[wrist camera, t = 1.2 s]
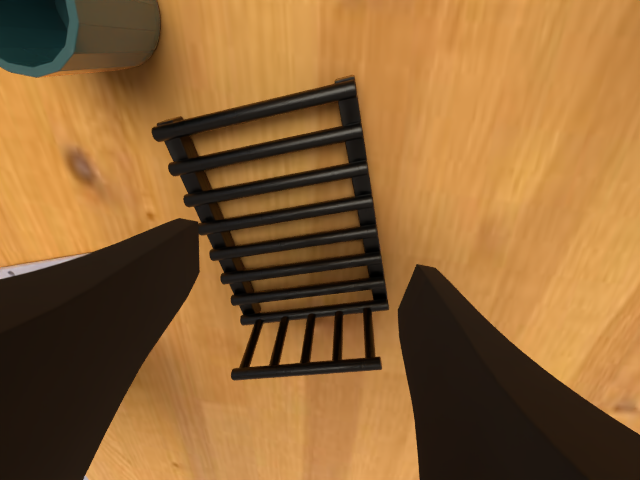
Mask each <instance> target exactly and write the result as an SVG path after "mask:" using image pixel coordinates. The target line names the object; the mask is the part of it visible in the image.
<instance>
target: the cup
mask: <svg viewBox="0 0 640 480" xmlns="http://www.w3.org/2000/svg"><path fill="white" fill-rule="evenodd" d="M159 36H160V13H159V8H158V4H157V0H0V67H2V68H3V69H5V70H7V71H8V72H11V73H16V74H21V75H26V76H31V77H36V78H37V77H38V78H39V77H50V76H61V75H72V74H84V73H95V72H106V71H117V70H123V69H129V68H134V67H137V66H139V65H141V64H143V63H144V62H146V61H147V60H148V59H149V58H150V56H151V55H152V54H153V52H154V50H155V49H156V46H157V44H158V40H159Z"/></svg>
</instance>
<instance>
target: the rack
mask: <svg viewBox="0 0 640 480" xmlns="http://www.w3.org/2000/svg"><path fill="white" fill-rule="evenodd" d="M333 102H338V104H339V110H340V115H341V121H342V126H339V127H335V128H330V129H325V130H321V131H316V132H311V133H307V134H302V135H297V136H293V137H288V138H283V139H279V140H274V141H269V142H265V143H260V144H255V145H250V146H246V147H241V148H236V149H232V150H227V151H222V152H218V153H213V154H208V155H204V156H199V157H198V155H197V152H196V150H195V148H194V145H193V143H192V140H191V138H190V136H189V135H193V134H197V133H202V132H206V131H210V130H215V129H219V128H223V127H228V126H232V125H237V124H241V123H245V122H250V121H254V120H259V119H263V118H267V117H272V116H276V115H281V114H285V113H289V112H294V111H298V110H302V109H307V108H311V107H316V106H320V105H324V104H329V103H333ZM152 135H153V137H154V139H155V140H156V141H158V142H162V141H164V142H165V144H166V146H167V148H168V150H169V153H170V155H171V157H172V159H173V161H174V162H171V163H169V165H168V169H169V172H170V174H171V175H172V176H180V177H181V179H182V181H183V183H184V186H185V188H186V190H187V192H188V194H186V195H184V198H183V200H184V203H185V205H186V206H187V207H195V210H196V212H197V214H198V216H199V218H200V221H201V223H199V224H198V233H199V235H207V236H208V238H209V240H210V243H211V245H212V247H213V249H212V250H210V258H211V260H212V261H217V260H219V262H220V265H221V267H222V269H223V271H224V273H222V274H221V282H222V284H230V287H231V289H232V291H233V293H234V295H232V296H231V303H232V305H233V306H236V305H239V306H240V308H241V311H242V313H243V315H242V316H241V318H240V322H241V324H242V325H252V324H254V327H253V330H252V332H251V335H250V338H249V341H248V344H247V347H246V350H245V353H244V355H243V358H242V361H241V364H240V367H239V368H234V369H233V370H232V372H231V378H232V380H247V379H261V378H275V377H288V376H302V375H316V374H330V373H343V372H357V371H371V370H382V363H381V358H380V357H375V345H374V333H373V321H372V312H376V311H385V310H389V304H388V298H387V291H386V284H385V278H384V271H383V264H382V258H381V251H380V244H379V238H378V231H377V224H376V217H375V211H374V204H373V197H372V191H371V184H370V177H369V170H368V164H367V157H366V151H365V144H364V137H363V130H362V124H361V117H360V110H359V104H358V97H357V90H356V83H355V77H354V75H351V76H346V77H342V78H338V79H336V80H335V84H332V85H328V86H324V87H319V88H315V89H311V90H307V91H303V92H299V93H294V94H290V95H286V96H282V97H278V98H273V99H269V100H265V101H261V102H257V103H252V104H248V105H244V106H240V107H236V108H231V109H227V110H223V111H219V112H215V113H210V114H206V115H202V116H198V117H194V118H189V119H185V120H183V119H182V117H176V118H172V119H168V120H165V121H162V122H160V123H157V126H156V127H153V128H152ZM341 142H345V143H346V149H347V155H348V160H349V163H347V164H342V165H337V166H331V167H326V168H321V169H316V170H311V171H305V172H300V173H295V174H290V175H284V176H279V177H274V178H269V179H264V180H258V181H253V182H248V183H243V184H237V185H232V186H227V187H222V188H217V189H211V186H210V184H209V181H208V179H207V177H206V174H205V172H204V170H209V169H214V168H219V167H224V166H229V165H234V164H238V163H243V162H248V161H253V160H258V159H263V158H268V157H273V156H278V155H283V154H287V153H292V152H297V151H302V150H307V149H312V148H317V147H322V146H327V145H332V144H336V143H341ZM347 178H352V183H353V188H354V194H355V196H354V197H348V198H343V199H337V200H331V201H325V202H319V203H314V204H308V205H302V206H296V207H290V208H284V209H279V210H273V211H267V212H261V213H255V214H250V215H244V216H238V217H232V218H226V219H224V218H223V215H222V213H221V211H220V208H219V206H218V203H217V202H221V201H227V200H232V199H238V198H243V197H249V196H254V195H260V194H265V193H271V192H276V191H282V190H287V189H293V188H298V187H303V186H309V185H314V184H320V183H325V182H331V181H336V180H342V179H347ZM354 210H357V211H358V216H359V222H360V226H359V227H352V228H346V229H339V230H333V231H326V232H320V233H313V234H307V235H300V236H294V237H287V238H281V239H275V240H268V241H262V242H255V243H249V244H242V245H236V246H235V244H234V242H233V240H232V237H231V235H230V232H229V231H232V230H238V229H244V228H251V227H257V226H263V225H269V224H275V223H281V222H287V221H293V220H299V219H305V218H311V217H318V216H324V215H330V214H336V213H342V212H348V211H354ZM360 239H363V244H364V250H365V253H363V254H356V255H349V256H341V257H334V258H327V259H320V260H313V261H306V262H298V263H291V264H284V265H277V266H270V267H262V268H255V269H248V270H245V269H244V266H243V264H242V261H241V259H240V257H244V256H251V255H258V254H265V253H272V252H278V251H285V250H292V249H299V248H306V247H312V246H319V245H326V244H333V243H339V242H346V241H353V240H360ZM360 266H367V267H368V272H369V278H363V279H355V280H347V281H339V282H331V283H323V284H315V285H307V286H299V287H291V288H283V289H275V290H267V291H259V292H254V290H253V288H252V285H251V283H250V281H254V280H261V279H269V278H276V277H284V276H291V275H299V274H307V273H314V272H322V271H329V270H337V269H345V268H352V267H360ZM363 290H372V295H373V300H369V301H360V302H351V303H343V304H334V305H325V306H316V307H307V308H298V309H289V310H280V311H271V312H262V313H260V311H261V307H260V305H259V303H262V302H270V301H279V300H287V299H296V298H304V297H313V296H321V295H330V294H338V293H346V292H355V291H363ZM357 313H363V322H364V341H365V358H357V359H345V360H342V345H343V315H347V314H357ZM328 316H335V319H334V336H333V354H332V361H320V362H310V359H311V351H312V343H313V335H314V327H315V319H316V318H319V317H328ZM300 319H307V322H306V329H305V335H304V341H303V348H302V354H301V360H300V363H295V364H282V365H279V363H280V359H281V354H282V350H283V345H284V341H285V337H286V332H287V328H288V323H289V321H290V320H300ZM271 322H280V325H279V329H278V333H277V337H276V340H275V344H274V348H273V352H272V356H271V360H270V364H269V366H257V367H250V364H251V361H252V357H253V354H254V351H255V348H256V345H257V342H258V338H259V335H260V332H261V329H262V326H263V323H271Z"/></svg>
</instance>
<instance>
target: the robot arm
mask: <svg viewBox="0 0 640 480" xmlns="http://www.w3.org/2000/svg"><path fill="white" fill-rule="evenodd" d="M199 272H200V270H199V233H198V222H196V221H191V220H186V219H181V218H179V219H175V220H173V221H170V222H167V223H165V224H162V225H160V226H157V227H155V228H153V229H150V230H148V231H146V232H143V233H141V234H138V235H136V236H133V237H131V238H129V239H126V240H124V241H121V242H119V243H116V244H114V245H111V246H108V247H105V248H103V249H100V250H97V251H95V252H92V253H86V254H80V255H74V256H68V257H62V258H56V259H50V260H44V261H38V262H31V263H25V264H19V265H13V266H7V267H1V268H0V480H83V479H84V476H85V474H86V472H87V470H88V468H89V466H90V464H91V462H92V460H93V458H94V456H95V454H96V452H97V450H98V448H99V445H100V443H101V441H102V439H103V437H104V435H105V433H106V431H107V429H108V427H109V425H110V423H111V421H112V420H113V418H114V416H115V414H116V412H117V410H118V408H119V406H120V404H121V402H122V400H123V398H124V396H125V395H126V393H127V391H128V389H129V387H130V385H131V384H132V382H133V380H134V378H135V376H136V374H137V373H138V371H139V369H140V367H141V366H142V364H143V362H144V361H145V359H146V358H147V356H148V354H149V353H150V351H151V350H152V349H153V347H154V346H155V344H156V343H157V341H158V340H159V338H160V337H161V335H162V334H163V332H164V331H165V330H166V328H167V327H168V325H169V324H170V322H171V321H172V319H173V318H174V316H175V315H176V313H177V312H178V311H179V309H180V308H181V306H182V305H183V303H184V302H185V300H186V298H187V297H188V295H189V293H190V291H191V289H192V287H193V285H194V283H195V281H196V279H197V277H198V274H199ZM398 326H399V338H400V344H401V349H402V355H403V360H404V365H405V370H406V375H407V380H408V385H409V390H410V395H411V400H412V406H413V412H414V419H415V429H416V440H417V450H418V463H419V477H420V480H640V435H639V434H638V433H636V432H634V431H633V430H631V429H630V428H628V427H627V426H625V425H623V424H622V423H620V422H619V421H617V420H615V419H614V418H612V417H611V416H609V415H608V414H606V413H605V412H603V411H602V410H600V409H599V408H597V407H596V406H594V405H593V404H591V403H590V402H588V401H587V400H585V399H584V398H583V397H581V396H580V395H578V394H577V393H576V392H574V391H573V390H571V389H570V388H569V387H567V386H566V385H564V384H563V383H562V382H560V381H559V380H557V379H556V378H555V377H553V376H552V375H551V374H550V373H548V372H547V371H546V370H544V369H543V368H542V367H540V366H539V365H538V364H537V363H536V362H534V361H533V360H532V359H531V358H529V357H528V356H527V355H526V354H524V353H523V352H522V351H521V350H520V349H518V348H517V347H516V346H515V345H514V344H513V343H511V342H510V341H509V340H508V339H507V338H506V337H505V336H504V335H503V334H502V333H500V332H499V331H498V330H497V329H496V328H495V327H494V326H493V325H492V324H491V323H490V322H489V321H488V320H487V319H486V318H485V317H483V316H482V315H481V314H480V313H479V312H478V311H477V310H476V309H475V308H474V307H473V305H472V304H471V303H470V302H469V301H468V300H467V299H466V298H465V297H464V296H463V295H462V294H461V293H460V292H459V291H458V290H457V289H456V288H455V287H454V286H453V285H452V284H451V283H450V282H449V281H448V280H447V279H446V278H445V277H444V276H443V275H442V274H441V273H440V272H439V271H438V270H437V269H436V268H434V267H429V266H424V265H418V264H417V265H416V267H415V270H414V272H413V275H412V277H411V279H410V282H409V284H408V287H407V289H406V291H405V294H404V296H403V299H402V301H401V303H400V306H399V308H398Z"/></svg>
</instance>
